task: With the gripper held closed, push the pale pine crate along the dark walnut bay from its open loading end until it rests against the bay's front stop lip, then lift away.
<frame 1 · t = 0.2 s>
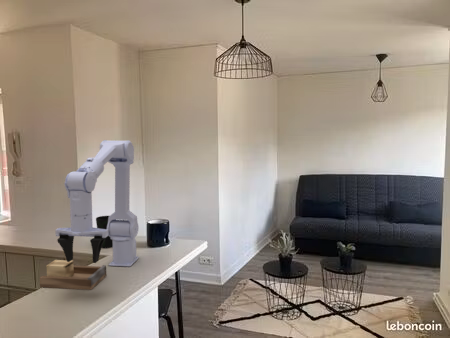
hand: (82, 261, 105), 10 cm above the counter, fingers open, 7 cm apart
crate: (60, 270, 116), point 3 cm above the counter, slide at 0.0 cm
bay: (74, 281, 116), on the counter
cup: (106, 246, 152), on the counter
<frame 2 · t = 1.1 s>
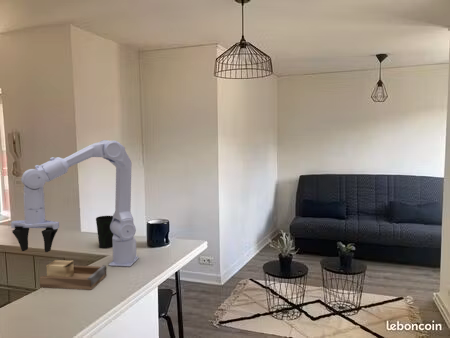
hand: (36, 250, 116), 9 cm above the counter, fingers open, 7 cm apart
nothing on the counter moved.
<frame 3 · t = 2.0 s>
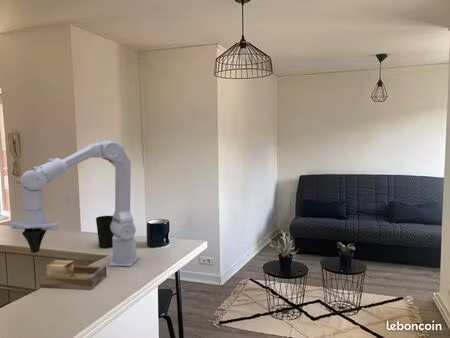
hand: (35, 251, 117), 9 cm above the counter, fingers closed
nothing on the counter moved.
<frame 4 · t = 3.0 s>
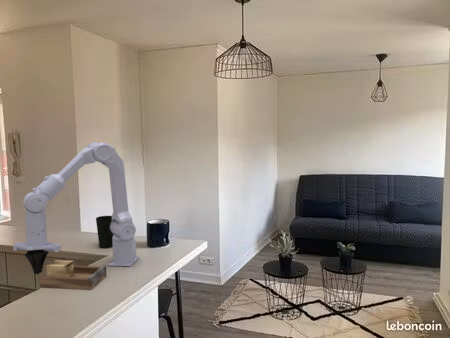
hand: (38, 272, 117), 2 cm above the counter, fingers closed
nothing on the counter moved.
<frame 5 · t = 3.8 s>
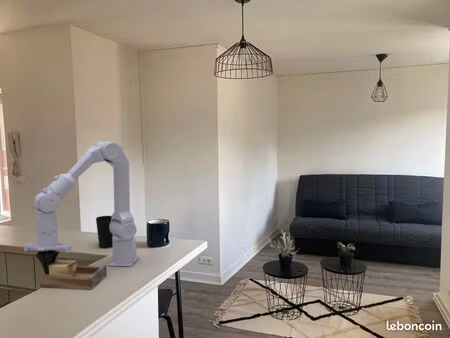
hand: (48, 273, 117), 2 cm above the counter, fingers closed
crate: (62, 270, 116), point 3 cm above the counter, slide at 0.8 cm, touching gripper
everything else where it was.
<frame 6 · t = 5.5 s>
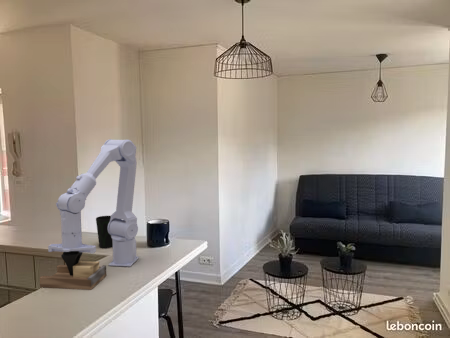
hand: (73, 274, 116), 2 cm above the counter, fingers closed
crate: (86, 271, 116), point 3 cm above the counter, slide at 8.5 cm, touching bay, gripper
everything else where it was.
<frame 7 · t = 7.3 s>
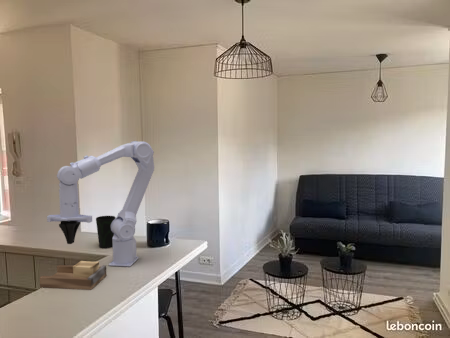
hand: (70, 243, 123), 10 cm above the counter, fingers closed
crate: (86, 271, 116), point 3 cm above the counter, slide at 8.5 cm, touching bay
everything else where it was.
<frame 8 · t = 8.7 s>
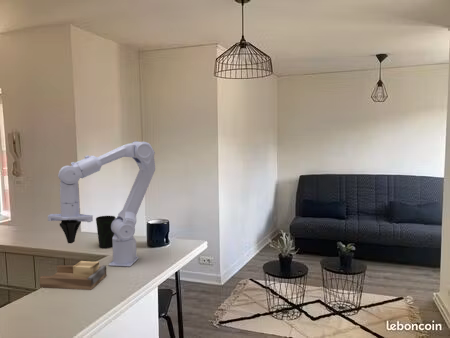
hand: (71, 242, 124), 10 cm above the counter, fingers closed
nothing on the counter moved.
at the end: crate slide at 8.5 cm; crate touching bay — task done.
